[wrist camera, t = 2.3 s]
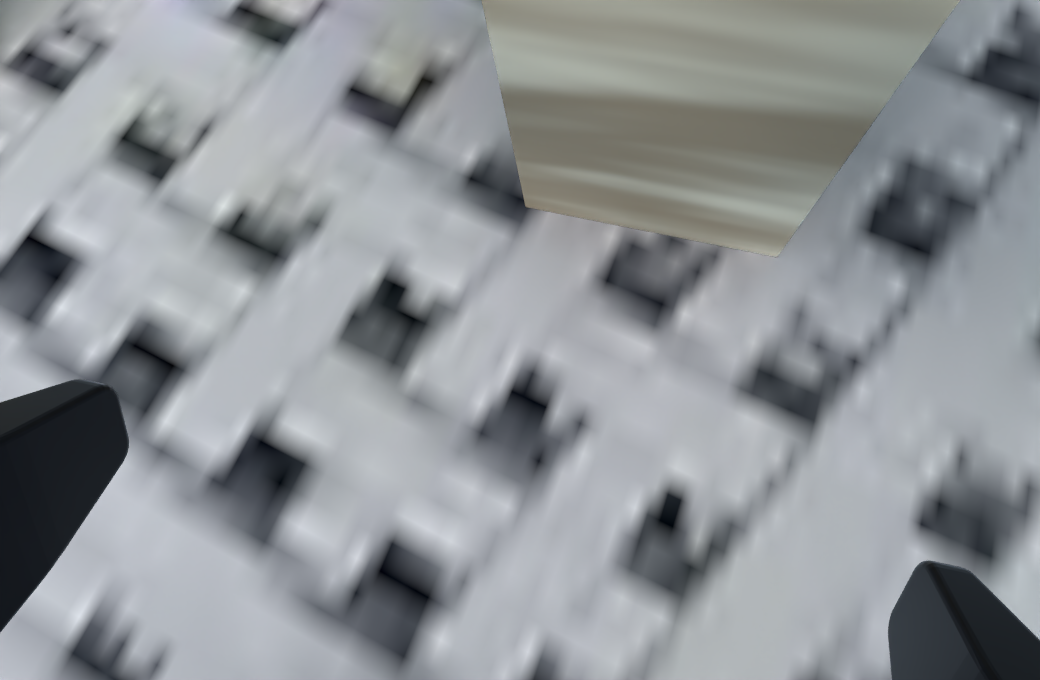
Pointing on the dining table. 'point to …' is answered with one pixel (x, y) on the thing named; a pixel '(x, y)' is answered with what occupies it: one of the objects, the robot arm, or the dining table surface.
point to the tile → (697, 105)
